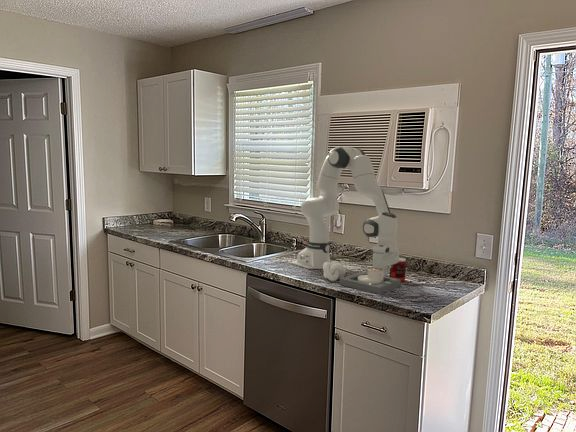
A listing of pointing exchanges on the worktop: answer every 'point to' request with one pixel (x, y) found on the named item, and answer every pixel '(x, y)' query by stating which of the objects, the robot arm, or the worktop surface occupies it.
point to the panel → (380, 288)
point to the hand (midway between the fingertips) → (385, 274)
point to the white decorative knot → (333, 270)
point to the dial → (372, 277)
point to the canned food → (398, 270)
